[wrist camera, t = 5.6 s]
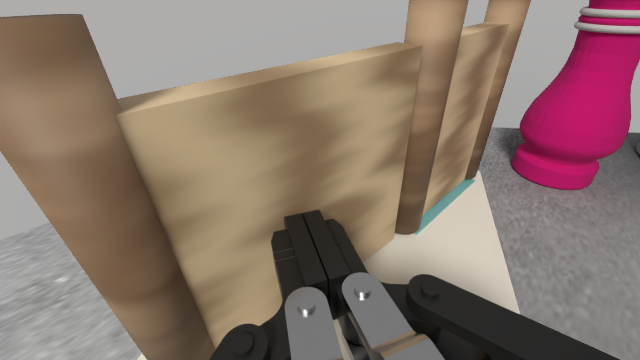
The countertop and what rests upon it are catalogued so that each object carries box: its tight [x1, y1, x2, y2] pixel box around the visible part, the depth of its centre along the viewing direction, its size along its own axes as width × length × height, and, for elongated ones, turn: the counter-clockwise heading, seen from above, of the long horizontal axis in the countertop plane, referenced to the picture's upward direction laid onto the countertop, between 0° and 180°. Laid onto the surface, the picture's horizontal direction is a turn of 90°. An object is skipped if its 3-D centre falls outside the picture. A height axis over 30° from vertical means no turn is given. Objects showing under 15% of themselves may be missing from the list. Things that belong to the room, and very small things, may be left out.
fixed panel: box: [394, 0, 531, 235], centre depth 20 cm, size 12×3×15 cm, turn 133°
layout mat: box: [137, 171, 520, 360], centre depth 20 cm, size 18×24×1 cm
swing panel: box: [0, 14, 423, 360], centre depth 13 cm, size 14×2×14 cm, turn 130°
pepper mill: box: [512, 0, 640, 190], centre depth 23 cm, size 7×7×20 cm
